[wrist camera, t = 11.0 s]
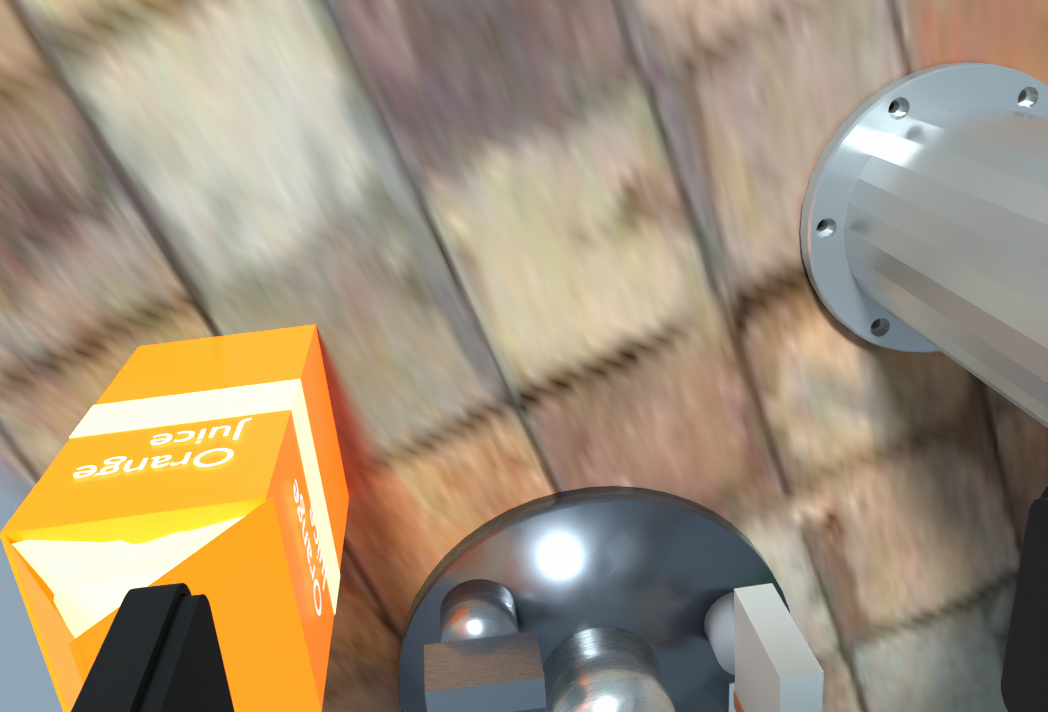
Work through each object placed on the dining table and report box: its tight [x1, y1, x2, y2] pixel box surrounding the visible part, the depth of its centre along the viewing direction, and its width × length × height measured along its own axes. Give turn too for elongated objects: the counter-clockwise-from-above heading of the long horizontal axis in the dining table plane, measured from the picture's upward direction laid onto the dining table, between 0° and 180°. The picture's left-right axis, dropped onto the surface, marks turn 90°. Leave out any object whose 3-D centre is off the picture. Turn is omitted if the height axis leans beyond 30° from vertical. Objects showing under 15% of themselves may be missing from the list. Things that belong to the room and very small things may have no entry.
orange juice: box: [0, 325, 349, 712], centre depth 33 cm, size 8×9×20 cm
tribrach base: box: [399, 486, 790, 712], centre depth 45 cm, size 20×20×8 cm
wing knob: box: [704, 583, 824, 712], centre depth 43 cm, size 7×4×8 cm, turn 5°
